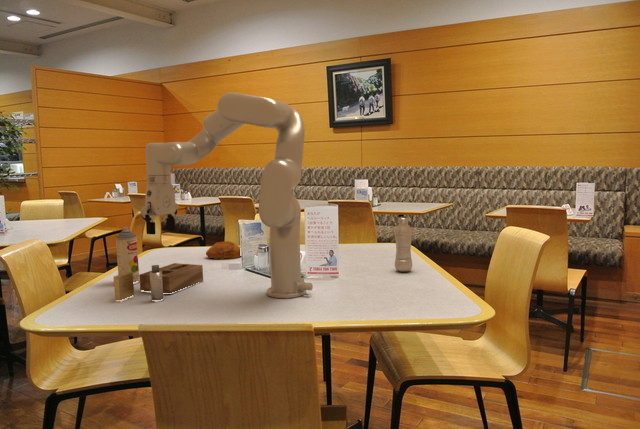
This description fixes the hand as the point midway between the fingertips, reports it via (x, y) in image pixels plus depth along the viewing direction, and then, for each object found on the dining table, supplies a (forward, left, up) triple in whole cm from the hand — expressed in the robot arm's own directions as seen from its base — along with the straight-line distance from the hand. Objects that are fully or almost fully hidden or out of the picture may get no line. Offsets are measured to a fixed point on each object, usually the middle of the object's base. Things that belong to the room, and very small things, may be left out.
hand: (161, 231), depth 166 cm
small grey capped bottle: (-7, +13, -19) cm, 24 cm away
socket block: (-1, -2, -19) cm, 19 cm away
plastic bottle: (-71, -45, -20) cm, 87 cm away
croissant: (+10, -52, -20) cm, 57 cm away
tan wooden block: (+4, +15, -19) cm, 24 cm away
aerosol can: (+18, -2, -20) cm, 26 cm away
